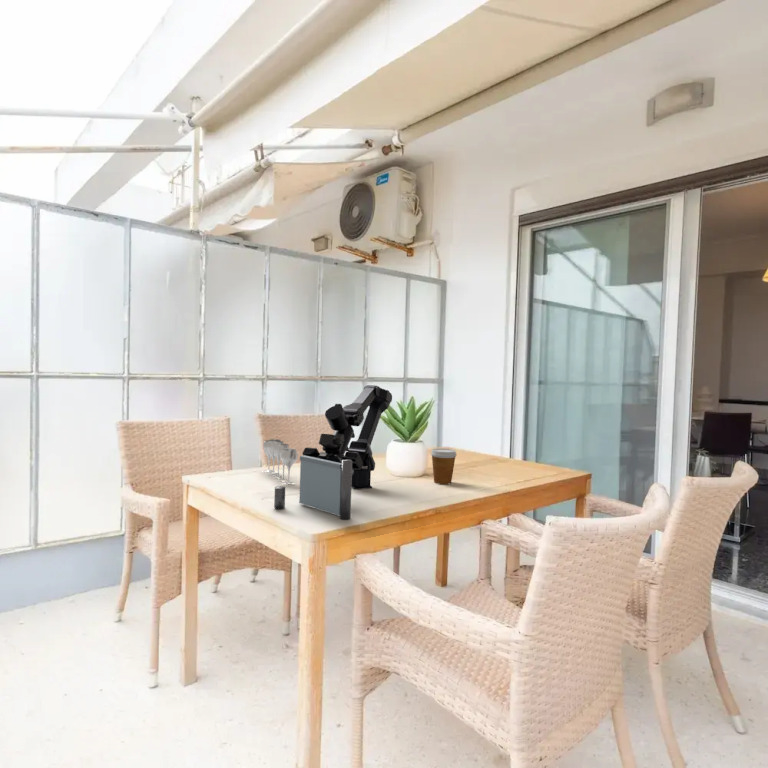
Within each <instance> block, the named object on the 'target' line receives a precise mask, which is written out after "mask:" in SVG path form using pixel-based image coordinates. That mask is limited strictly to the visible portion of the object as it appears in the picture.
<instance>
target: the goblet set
mask: <svg viewBox="0 0 768 768" xmlns="http://www.w3.org/2000/svg"><path fill="white" fill-rule="evenodd" d="M262 449H263V452H264V454H265V456H266V457H267V460H268V461H267V462H268V465H267V466H268V469H267V470H266V469H265V470H263V471H264V472H263V473H266V472H268V473H269V472H271V473H269V474H270V475H269V476H271V475H275V477H282V476H283V478H279V479H280V480H287V479H288V481H284V482H285V483H286V484H292V483H293V481H290V473H291V468H292V466H293V465H294V464H296V462H297V461H298V457H299V456H298V452H297V451H298V450H297V449H296V448H290V447H289V444H288V443H284V441H282V440H281V439H279V438H278V439H273V438H272V439H268V440H263V447H262ZM271 459H272V469H270V465H271ZM276 460H277V472H275V461H276ZM280 462H281V463H282V475H279V474H280ZM285 466H286V467H287V471H288V473H287V476H288V478H287V479H286V478H285ZM268 473H267V474H268Z"/></svg>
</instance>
